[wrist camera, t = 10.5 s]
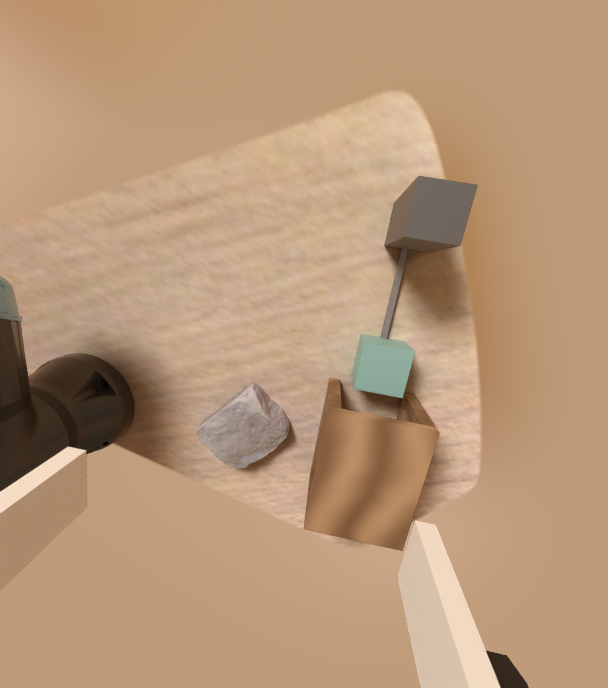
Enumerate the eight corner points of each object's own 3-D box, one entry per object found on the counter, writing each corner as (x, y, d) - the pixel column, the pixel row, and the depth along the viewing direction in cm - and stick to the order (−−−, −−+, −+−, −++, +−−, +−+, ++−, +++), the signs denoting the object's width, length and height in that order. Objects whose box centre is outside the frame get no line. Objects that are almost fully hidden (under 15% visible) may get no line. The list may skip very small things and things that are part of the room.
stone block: (298, 416, 47) (251, 374, 44) (297, 438, 42) (246, 393, 39) (244, 456, 50) (197, 419, 47) (239, 480, 45) (186, 441, 42)
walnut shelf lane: (310, 474, 47) (303, 529, 37) (329, 378, 43) (328, 410, 33) (387, 490, 46) (402, 550, 36) (414, 394, 42) (439, 432, 32)
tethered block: (351, 375, 42) (357, 410, 32) (389, 202, 37) (412, 174, 26) (394, 383, 42) (415, 422, 31) (439, 210, 36) (483, 185, 26)
